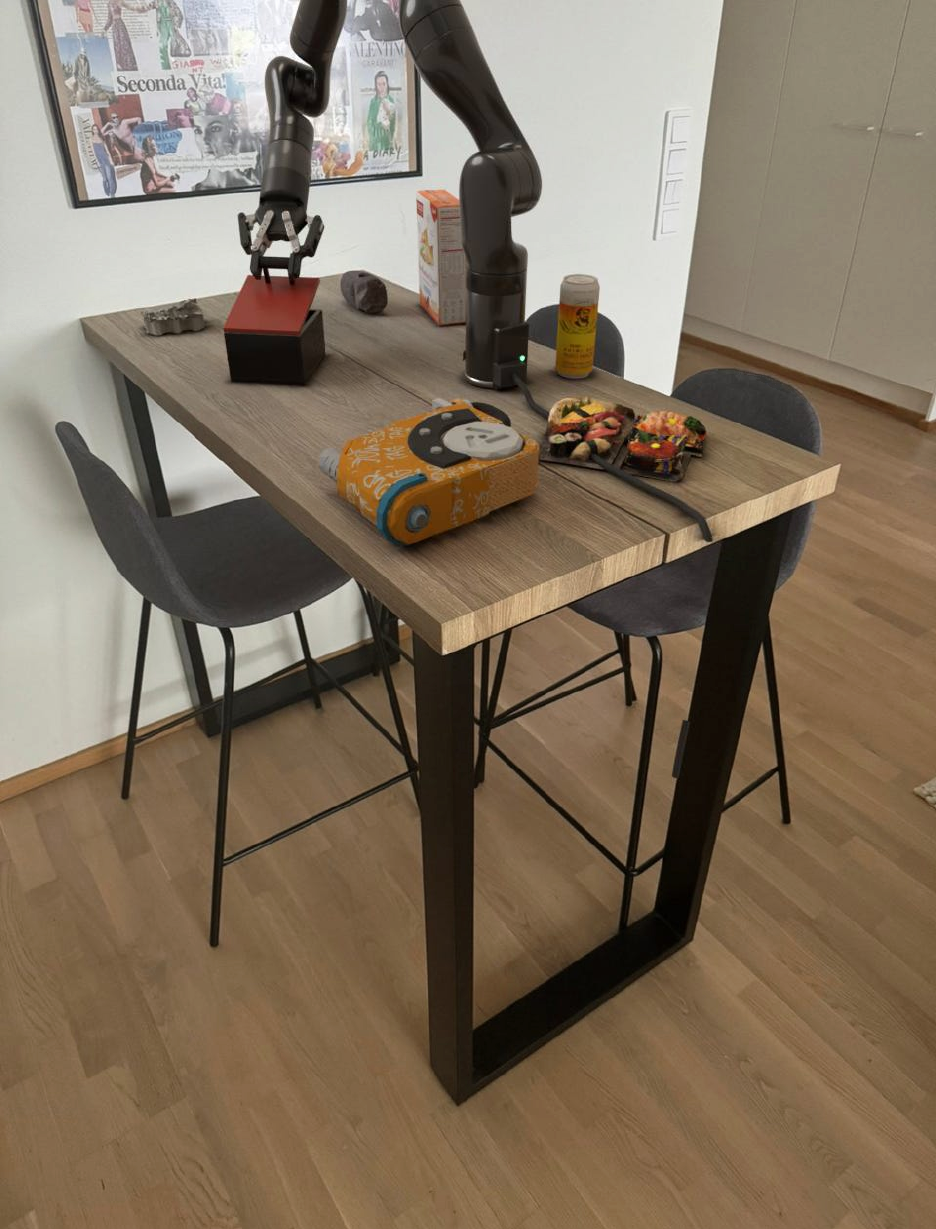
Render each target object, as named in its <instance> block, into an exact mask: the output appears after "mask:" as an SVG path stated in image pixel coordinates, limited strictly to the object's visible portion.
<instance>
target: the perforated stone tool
mask: <svg viewBox="0 0 936 1229" xmlns="http://www.w3.org/2000/svg"><path fill="white" fill-rule="evenodd" d="M340 291H341V294H342V297H343V298H344V299H345V301H346V302H347V303H349V304H350V305H351V306H352V307H354V309H356V310H358V311H364V313H367V314H375V313H382V312H383V311H385V309H386V308H387V306H388V301H389V296H388V290H387V286H386V284H385V283H384V281H383V280H382V279H380V278H378V277H377V276H376V275H374V274H372V273H369V272H365V271H361V270H347V271H346V272H345V273H343V274H342V276H341V278H340Z"/></svg>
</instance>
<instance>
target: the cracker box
mask: <svg viewBox="0 0 936 1229" xmlns="http://www.w3.org/2000/svg"><path fill="white" fill-rule="evenodd" d="M415 196H416V199H415V200H416V222H417V223H416V224H417V226H416V227H417V254H418V255H417V256H418V258H417V259H418V286H419V287H418V290H419V305H420V306H421V307H422V308H423V309H424V310H425V312H426V313H427V314H428V315H429V316H430V317H431V318H432V319H433V320H434V322H435V323H436V324H437V325H438V326H439V327H442V326H450V325H460V324H461V325H462V324H466V256H465V253H464V250H463V247H462V242H461V230H460V207H459V198H457V197H456V196H454V195H452V194H451V193H450V192H449V191H447V190H445V189H424V190H417V191H415Z"/></svg>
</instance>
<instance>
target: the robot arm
mask: <svg viewBox="0 0 936 1229" xmlns="http://www.w3.org/2000/svg"><path fill="white" fill-rule="evenodd" d="M347 13H348V0H299V2H298V6H297V9H296V13H295V16H294V20H293V23H292V26H291V29H290V33H289V46H290V48H291V50H292V52H294V54H295V55H296V56H297V57H298V58H299V59H301V60H302V61H303V62H305V63H306V64H305V63H302V62H300V61H298V60H295V59H293V58H290V57H287V56H284V55H278V56H275V57H274V58H273V59H271V60H270V61H269V63H268V64H267V66H266V68H265V72H264V91H265V98H266V102H267V103H266V104H267V108H268V109H267V110H268V112H269V113H268V115H269V135H268V142H267V149H266V153H265V156H264V161H263V169H262V175H261V183H260V192H259V200H258V207H257V209H255V212H254V213H252V214H245V213H244V212H239V213H238V214H237V224H238V232H239V243H240V246H241V248H242V249H243V251H244V253H245V255H247V256H250V262H249V272H250V273H251V275H253V276H254V277H255V279H256V280H261V276H263V268H261V267H260V264H259V259H260V257H261V256H265V253H266V252H267V250H268V249H270V248H271V246H272V244H273V243H274V242H279V241H282V242H286V243H288V242H289V244H290V247H291V250H292V251H291V252H290V253H289V257H290V260H289V268H288V271H287V277H289V279H290V281H296V278H299V277H301V271H302V262H303V260H304V259H305V258H307V257H308V258H314V257H315V255H316V252H317V249H318V247H319V244H320V241H321V239H322V235H323V233H324V230H325V225H324V221H323V219H322V217H321V215H319V214H316V215H314V216H311V215H308V213H307V211H308V205H309V194H310V187H311V183H312V157H313V148H314V140H315V128H314V125H313V124H312V122H311V121H310V119H309V118H312V119H314V118H315V119H316V118H319V117H320V116H322V115H323V114H324V113H325V112H326V110H327V109H328V107H329V103H330V97H331V74H332V66H333V60H334V56H335V52H336V49H337V46H338V43H339V40H340V38H341V34H342V33H343V32H342V31H343V29H344V26H345V22H346V19H347ZM470 21H471V20H470V19H469V16H468V14H467V12H466V10H465V8H464V6H463V3H462V2H461V0H398V25H399V30H400V34H401V36H402V39H403V41H404V44H405V46H406V48H407V51H408V52H409V55H410V57H411V60H412V62H413V64H414V66H415V68H416V70H417V72H418V75H419V76H420V78H421V79H422V81H423V82H424V83H425V85H426V86H427V87H428V88H429V90H430V91H431V92H432V93H433V94H434V95H435V97H437V98H438V99H439V100H440V101H441V103H443V104H444V105H445V106H446V107H447V109H448V110H450V111H451V112H452V113H453V114H454V116H456V118H458V120H459V121H460V122H461V123H462V124H463V125H464V127H465V128H466V130H467V131H468V133H469V134H470V136H471V138H472V140H473V142H474V143H475V145H476V148H477V150H478V151H477V152H474V153H473V154H471V155H470V156H469V157H468V158H467V159H466V160H465V162H464V164H463V166H462V169H461V171H460V176H459V184H458V199H459V207H460V230H461V242H462V247H463V250H464V253H465V256H466V323H465V350H464V351H463V352H462V362H465V368H464V379H465V381H466V382H467V383H468V384H471V385H474V386H476V387H481V388H485V389H493V390H495V391H501V390H504V389H507V388H510V387H513V386H518V387H519V389H520V390H521V392H522V393H523V396H524V398H525V401H526V403H527V404H528V405H529V406H530V408H532V410H533V411H534V412H536V413H537V414H539V415H540V416H542V417H544V418H545V419H549V415H550V411H549V410H547V409H545V408H543V407H541V406H540V405H539V404H537V402H536V401H535V399H533V396H532V394H531V392H530V389H529V388H528V386H527V379H528V356H529V355H528V354H529V337H530V335H529V334H530V323H529V322H528V321H527V320H526V305H527V304H526V303H527V302H526V301H527V282H528V279H527V278H528V265H529V264H528V262H529V253H528V249H527V248H526V246H525V245H523V244H521V243H519V242H515V241H514V239H513V234H512V233H513V232H512V218H514V217H517V216H520V215H524V214H527V213H528V212H531V211H532V210H533V209H535V207H536V206H537V205H538V203H539V201H540V199H541V196H542V192H543V177H542V172H541V168H540V166H539V163H538V161H537V158H536V156H535V154H534V152H533V150H532V148H531V146H530V144H529V143H528V141H527V139H526V138H525V136H524V134H523V132H522V130H521V129H520V127H519V125H518V124H517V122H516V120H515V118H514V116H513V114H512V112H511V111H510V109H509V107H508V105H507V103H506V101H505V99H504V97H503V94H502V93H501V90H500V88H499V86H498V83H497V81H496V79H495V77H494V74H493V73H492V71H491V68H490V66H489V64H488V62H487V60H486V58H485V56H484V53H483V51H482V48H481V46H480V44H479V41H478V38H477V35H476V33H475V31H474V29H473V28H474V27H473V26H472V24H471V22H470ZM307 64H308V65H307ZM256 223H257V224H258V226H259V227H258V230H257V231H256V235H255V239H254V240H253V242H252V231H253V230H254V228H255V224H256ZM306 226H307V228H308V232H307V234H306V237H305V240H304V243H303V244H302V245H301V241H300V238H299V234H300V233H301V232H302V231H303V230H304V228H306ZM590 459H591V460H592V461H593V462H595V463H596V464H598V465H600V466H601V467H602V468H604V469H603V470H605V471H607V472H608V473H610V474H612V475H614V476H616V477H617V478H620V479H621V480H623V481H625V482H627V483H628V484H631V485H632V486H635V487H637V488H638V489H640V490H642V491H644V492H646V493H648V494H650V495H652V496H654V497H656V498H658V499H660V500H663V501H665V502H667V503H668V504H670V505H672V506H674V507H676V508H678V509H679V510H680V511H681V512H683V513H684V514H686V515H687V516H689V517H691V519H694V521H696V523H697V525H698V527H699V529H700V532H701V535H702V539H703V540H704V541H705V543H706V542H707V543H712V542H713V536H712V532H711V529H710V526H709V524H708V522H707V520H706V519H705V517H704V516H703V514H701V512H699V511H698V510H697V509H694V508H693V507H691V506H690V505H689V504H687V503H686V502H684V501H682V500H681V499H680V498H678V497H676V496H674V495H672V494H671V493H668V492H666V491H664V490H662V489H660V488H658V487H656V486H653V485H651V484H649V483H647V482H646V481H643V480H641V479H639V478H637V477H636V476H634V475H633V474H628V473H626V472H624V471H622V470H620V467H617V466H615V465H613V464H612V463H611V464H610V463H608V462H606V461H605V460H603V459H602V458H600V457H599V456H597V455H596V454H591V456H590ZM690 724H691V721H689V720H686V719H682V721H681V726H680V730H679V735H678V740H677V745H676V751H675V754H674V755H675V756H674V760H673V765H672V771H671V777H672V778H673V779H678V778H679V777H680V772H681V767H682V761H683V756H684V753H685V752H684V750H685V747H686V742H687V737H688V733H689V728H690Z"/></svg>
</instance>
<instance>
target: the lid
mask: <svg viewBox="0 0 936 1229" xmlns="http://www.w3.org/2000/svg"><path fill="white" fill-rule="evenodd" d="M289 260H290V256H270V255H269V256H268V255H266V256H265V255H264V256H261V257H260V259H259V264H260V267H261V268H262V274H263V275H262V276H261V280H256V279H255V277H254V276H253V275H252V274H247V275H246V277H245V280H244V282H243V284H242V286H241V288H240V290H239V293H238V294H237V297H236V299H235V302H234V304H233V305H232V308H231V310H230V311H229V314H228V316H227V318H226V320H225V322H224V325H223V327H222V330H223V333H225V332H232V333H254V334H276V335H298V336H300V334H301V331H302V329H303V326H304V323H305V321H306V318H307V315H308V313H309V310H310V309H311V307H312V304H313V302H314V299H315V297H316V294H317V292H318V289H319V286H320V283H321V279H320V277H309V276H299V278H296V281H290V279H289V277H288V275H287V276H285V275H284V276H282V275H270V271H269V270H286V272H288V268H289Z"/></svg>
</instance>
